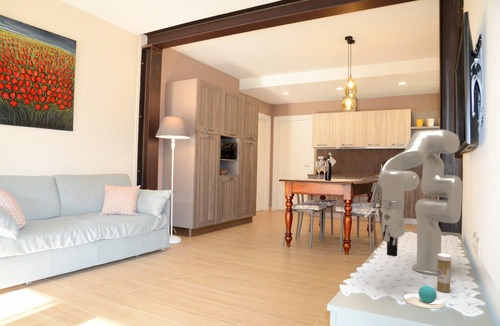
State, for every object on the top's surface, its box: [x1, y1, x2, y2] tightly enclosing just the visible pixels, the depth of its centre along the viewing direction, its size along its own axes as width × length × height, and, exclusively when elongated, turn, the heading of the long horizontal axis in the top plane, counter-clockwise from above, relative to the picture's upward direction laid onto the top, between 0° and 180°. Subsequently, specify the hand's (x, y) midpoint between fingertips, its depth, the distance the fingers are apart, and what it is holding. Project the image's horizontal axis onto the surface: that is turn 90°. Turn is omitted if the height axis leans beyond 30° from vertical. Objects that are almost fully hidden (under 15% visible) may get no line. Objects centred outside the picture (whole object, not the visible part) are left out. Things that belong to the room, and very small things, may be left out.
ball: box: [418, 285, 438, 303], centre depth 120 cm, size 6×6×6 cm
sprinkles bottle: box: [436, 252, 452, 293], centre depth 131 cm, size 5×5×13 cm
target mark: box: [403, 297, 446, 310], centre depth 121 cm, size 13×13×1 cm
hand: (392, 255), depth 128 cm, fingers closed
